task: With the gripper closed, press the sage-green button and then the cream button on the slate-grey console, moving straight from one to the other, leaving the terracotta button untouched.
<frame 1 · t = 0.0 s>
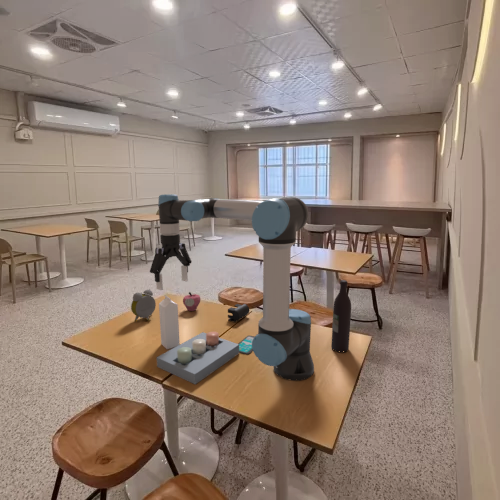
hand: (172, 285, 138), 28 cm above the table, fingers open, 13 cm apart
button cream: (199, 346, 133), point 6 cm above the table, slide at 0.0 cm
alarm clock: (145, 319, 173), on the table
milk: (170, 345, 146), on the table
console: (199, 359, 134), on the table
apple: (192, 310, 185), on the table
wine bottle: (339, 349, 143), on the table
button terracotta: (212, 338, 139), point 6 cm above the table, slide at 0.0 cm
button sage: (184, 355, 127), point 6 cm above the table, slide at 0.0 cm
smartphone: (248, 346, 146), on the table
end cap: (238, 319, 173), on the table
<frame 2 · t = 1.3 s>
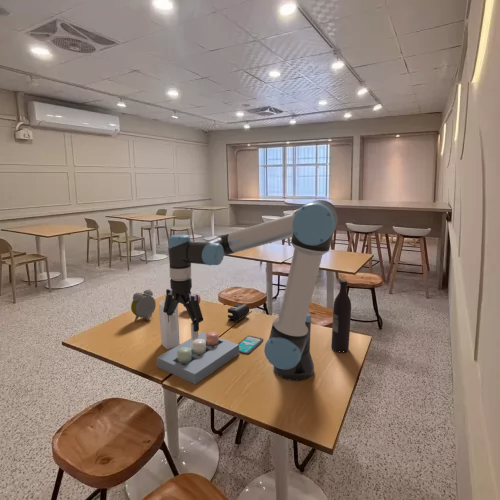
hand: (183, 334, 125), 14 cm above the table, fingers open, 11 cm apart
nothing on the table moved.
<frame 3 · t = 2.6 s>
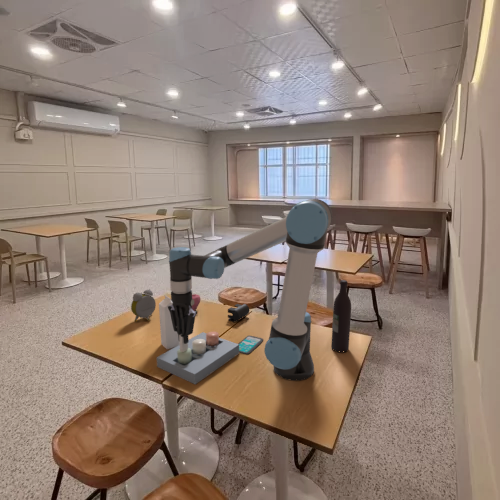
hand: (183, 350, 126), 8 cm above the table, fingers closed
button sage: (184, 355, 127), point 5 cm above the table, slide at 0.2 cm, touching gripper
everything else where it was.
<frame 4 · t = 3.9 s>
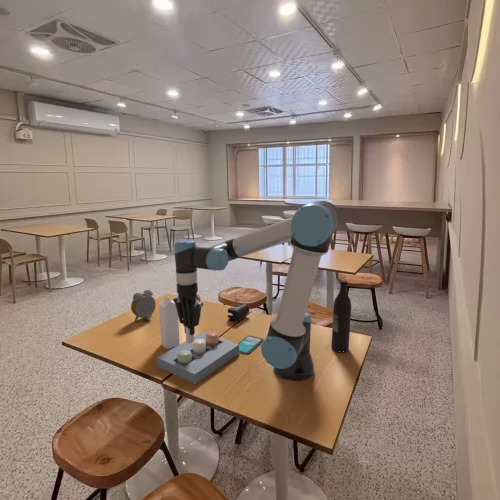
hand: (190, 341, 128), 10 cm above the table, fingers closed
button sage: (184, 358, 127), point 4 cm above the table, slide at 1.3 cm
everything else where it was.
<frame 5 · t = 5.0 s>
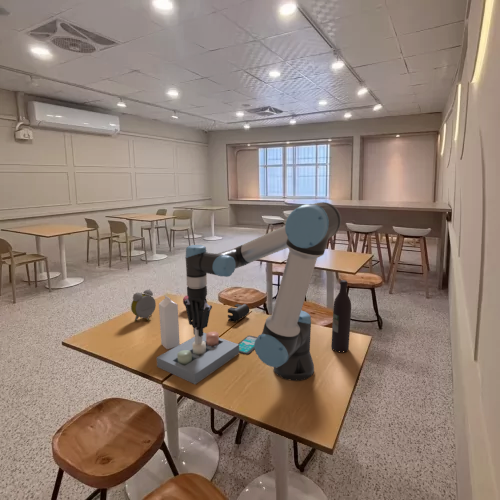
hand: (198, 342, 133), 7 cm above the table, fingers closed
button cream: (199, 348, 133), point 5 cm above the table, slide at 0.6 cm, touching gripper
everything else where it was.
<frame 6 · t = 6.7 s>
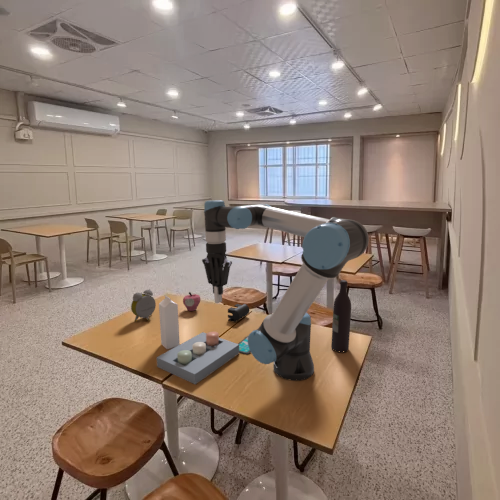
hand: (218, 301, 131), 24 cm above the table, fingers closed
button cream: (199, 349, 133), point 4 cm above the table, slide at 1.3 cm
everything else where it was.
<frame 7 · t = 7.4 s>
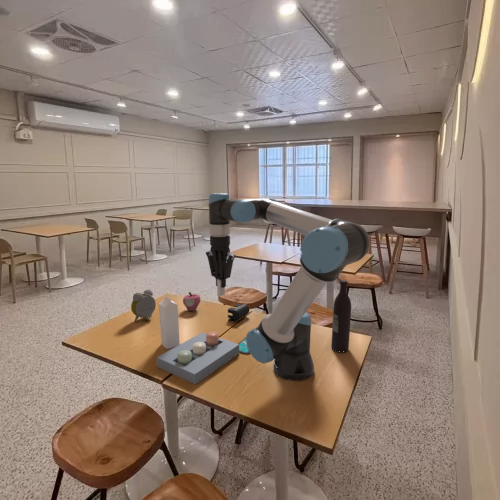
hand: (221, 294, 131), 26 cm above the table, fingers closed
nothing on the table moved.
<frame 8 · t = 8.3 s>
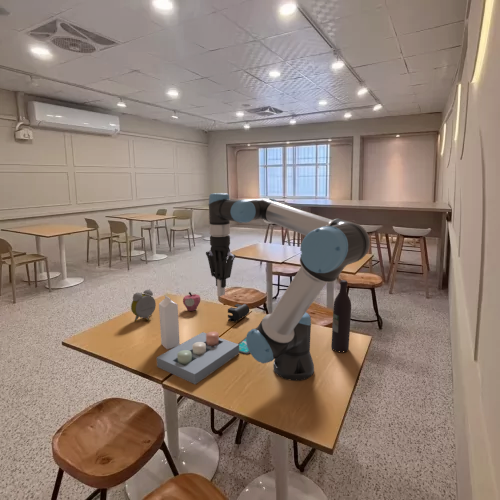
hand: (221, 294, 131), 26 cm above the table, fingers closed
nothing on the table moved.
at the end: button sage slide at 1.3 cm; button cream slide at 1.3 cm; button terracotta slide at 0.0 cm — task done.
